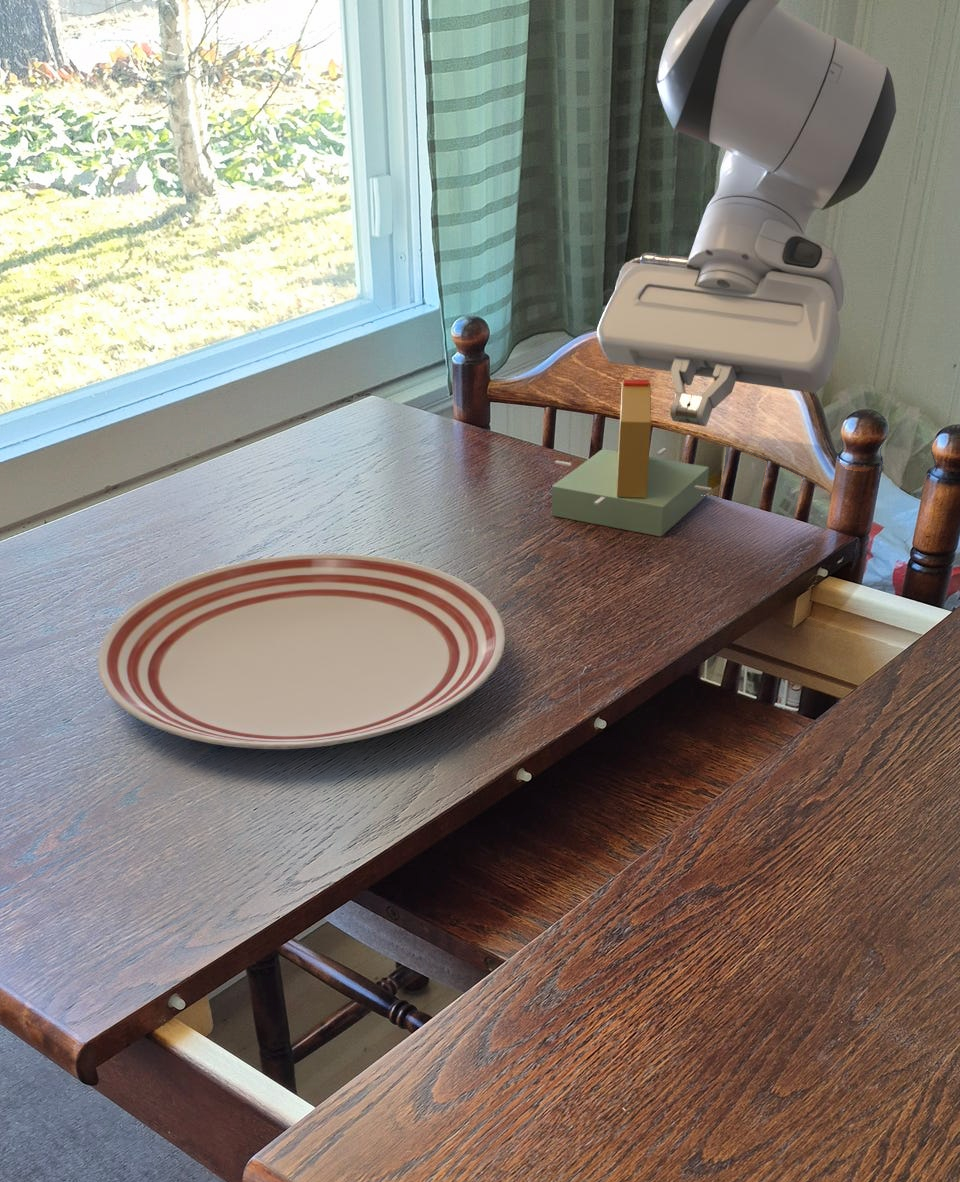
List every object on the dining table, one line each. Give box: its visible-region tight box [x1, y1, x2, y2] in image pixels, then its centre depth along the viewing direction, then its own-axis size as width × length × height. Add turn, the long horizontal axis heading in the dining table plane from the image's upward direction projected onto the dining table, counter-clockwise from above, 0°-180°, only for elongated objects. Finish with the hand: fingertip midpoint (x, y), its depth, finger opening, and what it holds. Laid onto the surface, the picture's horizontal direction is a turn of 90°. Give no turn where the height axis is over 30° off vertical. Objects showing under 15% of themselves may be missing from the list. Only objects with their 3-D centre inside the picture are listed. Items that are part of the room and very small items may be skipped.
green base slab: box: [551, 447, 713, 538], centre depth 121 cm, size 14×14×3 cm
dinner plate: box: [97, 553, 506, 750], centre depth 98 cm, size 28×27×3 cm
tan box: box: [617, 379, 652, 498], centre depth 118 cm, size 10×2×6 cm, turn 175°
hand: (687, 420), depth 120 cm, fingers closed
